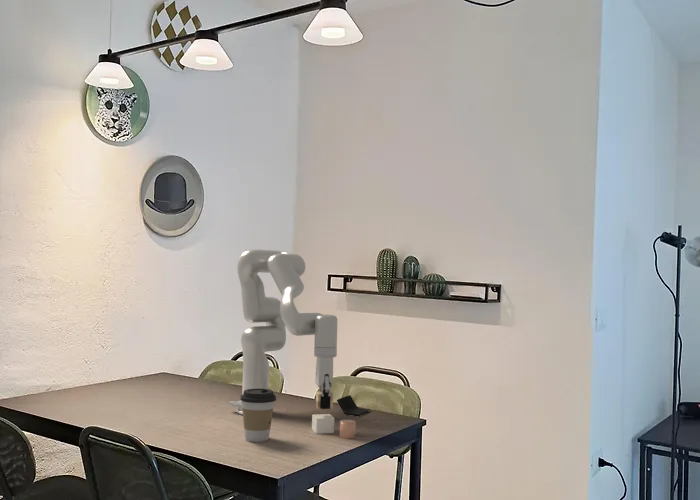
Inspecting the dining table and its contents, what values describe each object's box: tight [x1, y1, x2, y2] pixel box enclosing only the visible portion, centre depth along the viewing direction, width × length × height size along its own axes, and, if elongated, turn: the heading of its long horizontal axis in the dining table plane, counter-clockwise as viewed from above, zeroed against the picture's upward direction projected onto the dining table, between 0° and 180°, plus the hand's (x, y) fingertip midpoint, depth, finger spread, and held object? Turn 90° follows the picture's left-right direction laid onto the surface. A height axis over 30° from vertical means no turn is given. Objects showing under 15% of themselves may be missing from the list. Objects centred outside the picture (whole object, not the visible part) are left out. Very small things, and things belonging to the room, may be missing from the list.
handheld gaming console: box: [336, 394, 370, 417], centre depth 258 cm, size 12×7×10 cm
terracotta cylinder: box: [339, 419, 356, 440], centre depth 221 cm, size 5×5×5 cm
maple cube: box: [315, 390, 334, 410], centre depth 227 cm, size 5×5×5 cm
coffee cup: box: [239, 388, 277, 443], centre depth 214 cm, size 11×11×15 cm
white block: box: [311, 413, 335, 435], centre depth 227 cm, size 6×6×5 cm
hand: (324, 406), depth 227 cm, fingers closed on maple cube, 5 cm apart
